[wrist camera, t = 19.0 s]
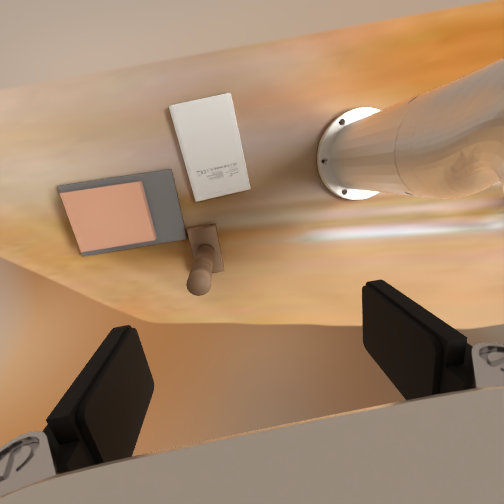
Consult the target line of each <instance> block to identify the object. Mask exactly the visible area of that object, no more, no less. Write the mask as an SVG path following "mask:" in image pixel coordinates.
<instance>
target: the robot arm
mask: <svg viewBox="0 0 504 504" xmlns="http://www.w3.org/2000/svg"><path fill="white" fill-rule="evenodd" d="M339 121H340V122H341V124H339ZM322 160H324V163H322ZM317 166H318V171H319V174H320V177H321V179H322V181H323V183H324V184H325V186H326V187H327V188H328V189H329V190H330V191H331V192H332V193H334V194H335V195H337V196H339V197H342V198H344V199H349V200H361V199H366V198H369V197H372V196H374V195H376V194H378V193H379V192H382V193H391V194H400V195H409V196H418V197H427V198H438V199H453V198H461V197H465V196H468V195H472V194H475V193H477V192H480V191H482V190H484V189H486V188H488V187H490V186H492V185H493V184H495V183H497V182H498V181H501V184H502V188H503V194H504V57H503V58H502V59H500V60H498V61H496V62H494V63H492V64H489V65H487V66H485V67H483V68H481V69H479V70H476V71H474V72H472V73H470V74H468V75H465V76H463V77H461V78H459V79H456V80H454V81H451V82H449V83H447V84H444V85H442V86H439V87H437V88H434V89H432V90H429V91H427V92H425V93H422V94H420V95H417V96H415V97H412V98H410V99H407V100H405V101H403V102H400V103H398V104H395V105H393V106H390V107H388V108H385V109H383V110H379V109H377V108H372V107H359V108H355V109H351V110H349V111H347V112H345V113H343V114H342V115H340V116H339V117H337V118H336V119H335V120H334V121H333V122H332V123H331V124H330V125H329V126H328V128H327V129H326V130H325V132H324V134H323V136H322V138H321V141H320V144H319V147H318V153H317ZM342 190H343V193H341V192H342ZM362 313H363V343H364V346H365V348H366V350H367V351H368V353H369V354H370V355H371V356H372V358H373V359H374V360H375V361H376V362H377V364H378V365H379V366H380V368H381V369H382V370H383V371H384V373H385V374H386V375H387V376H388V378H389V379H390V380H391V381H392V383H393V384H394V385H395V387H396V388H397V389H398V390H399V392H400V393H401V394H402V395H403V396H404V398H405V399H406V400H405V401H399V402H394V403H389V404H385V405H379V406H375V407H369V408H364V409H359V410H354V411H349V412H345V413H339V414H335V415H330V416H324V417H319V418H314V419H310V420H304V421H299V422H295V423H290V424H285V425H280V426H275V427H270V428H266V429H260V430H256V431H251V432H246V433H241V434H236V435H231V436H227V437H222V438H217V439H213V440H208V441H203V442H199V443H194V444H189V445H184V446H179V447H175V448H170V449H166V450H161V451H156V452H151V453H146V454H142V455H137V456H133V457H132V454H133V451H134V448H135V445H136V442H137V439H138V436H139V433H140V430H141V427H142V424H143V421H144V418H145V415H146V412H147V409H148V406H149V403H150V400H151V397H152V394H153V391H154V381H153V378H152V375H151V372H150V369H149V366H148V363H147V360H146V357H145V354H144V351H143V348H142V345H141V342H140V339H139V336H138V333H137V330H136V329H135V328H132V327H131V326H129V325H127V326H121V327H116V328H113V329H112V330H111V331H110V333H109V334H108V336H107V337H106V338H105V340H104V341H103V342H102V344H101V345H100V346H99V348H98V349H97V351H96V352H95V353H94V355H93V356H92V357H91V359H90V360H89V362H88V363H87V364H86V366H85V367H84V369H83V370H82V371H81V373H80V374H79V375H78V377H77V378H76V379H75V381H74V382H73V383H72V385H71V386H70V388H69V389H68V390H67V392H66V393H65V394H64V396H63V397H62V399H61V400H60V401H59V403H58V404H57V405H56V407H55V408H54V410H53V411H52V412H51V414H50V415H49V416H48V418H47V419H46V421H47V423H48V425H47V426H46V427H45V429H44V430H43V432H41V431H33V432H29V433H26V434H23V435H20V436H19V437H17V438H15V439H13V440H11V441H10V442H8V443H7V444H5V445H4V446H2V447H1V448H0V504H504V344H500V343H492V342H488V343H480V344H476V345H475V346H474V347H472V346H471V345H469V344H468V343H467V337H465V336H464V335H463V334H461V333H460V332H458V331H457V330H455V329H454V328H452V327H451V326H449V325H448V324H446V323H445V322H444V321H442V320H441V319H439V318H438V317H436V316H435V315H433V314H432V313H430V312H429V311H427V310H426V309H424V308H423V307H422V306H420V305H419V304H417V303H416V302H414V301H413V300H411V299H410V298H408V297H407V296H405V295H404V294H402V293H401V292H399V291H398V290H397V289H395V288H394V287H392V286H391V285H389V284H388V283H386V282H385V281H383V280H375V281H370V282H367V283H366V286H363V288H362Z"/></svg>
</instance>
